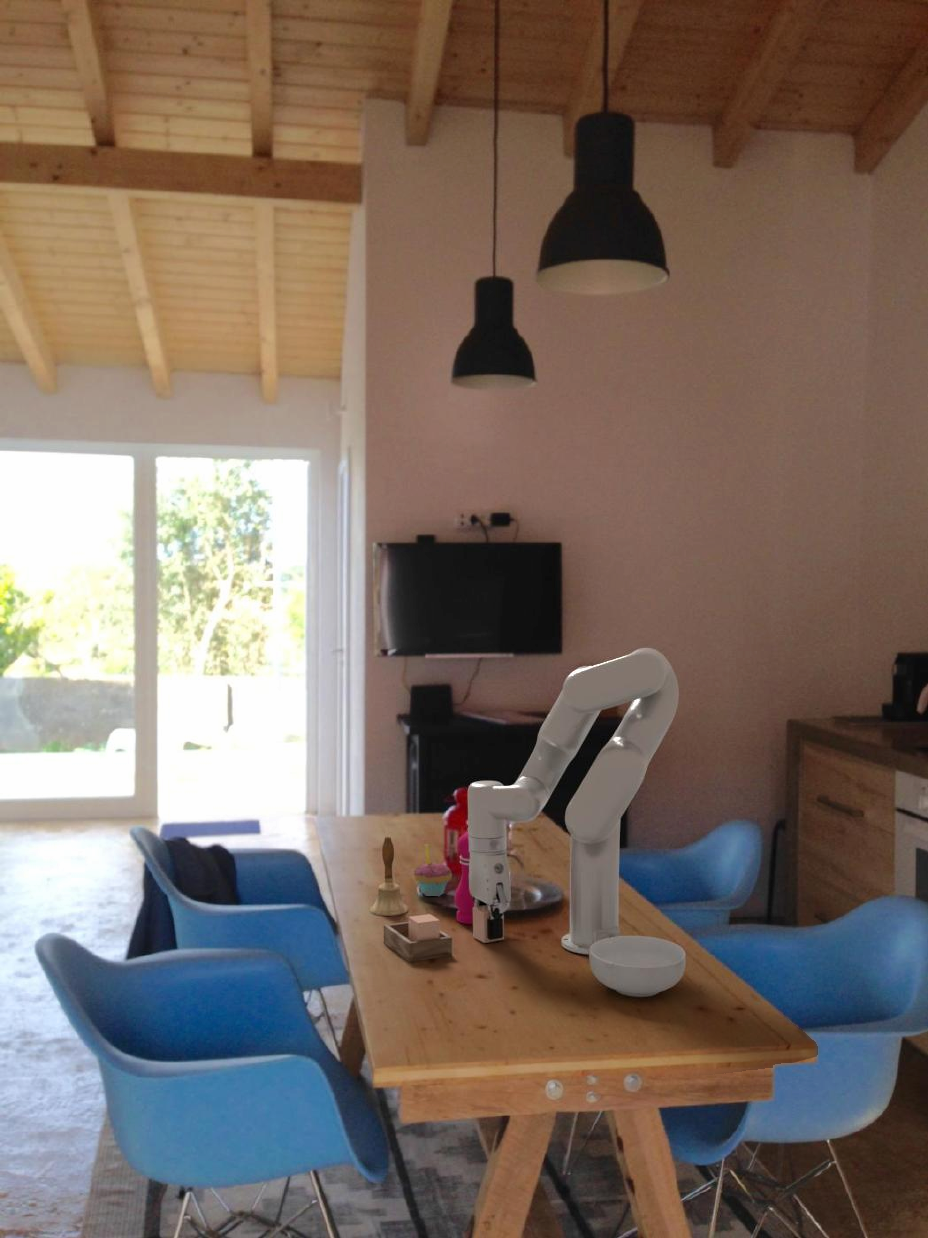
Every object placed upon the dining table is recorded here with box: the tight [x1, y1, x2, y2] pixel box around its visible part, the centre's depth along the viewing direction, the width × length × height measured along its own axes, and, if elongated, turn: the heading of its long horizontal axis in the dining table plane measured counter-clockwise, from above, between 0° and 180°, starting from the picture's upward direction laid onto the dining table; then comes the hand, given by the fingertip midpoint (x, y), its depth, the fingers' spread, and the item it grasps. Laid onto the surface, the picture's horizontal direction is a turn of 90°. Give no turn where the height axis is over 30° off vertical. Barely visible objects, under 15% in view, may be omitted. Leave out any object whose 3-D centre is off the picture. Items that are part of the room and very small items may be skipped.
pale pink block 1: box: [408, 913, 440, 942], centre depth 229 cm, size 4×4×6 cm
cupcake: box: [413, 840, 453, 896], centre depth 272 cm, size 9×8×12 cm
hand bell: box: [369, 836, 409, 917], centre depth 258 cm, size 8×8×16 cm
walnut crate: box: [383, 921, 453, 963], centre depth 232 cm, size 13×9×4 cm
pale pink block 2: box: [472, 905, 505, 944], centre depth 238 cm, size 4×4×6 cm
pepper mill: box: [454, 832, 474, 925], centre depth 251 cm, size 7×7×20 cm
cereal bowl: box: [588, 935, 687, 998], centre depth 210 cm, size 17×17×7 cm
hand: (489, 934), depth 239 cm, fingers closed on pale pink block 2, 4 cm apart
